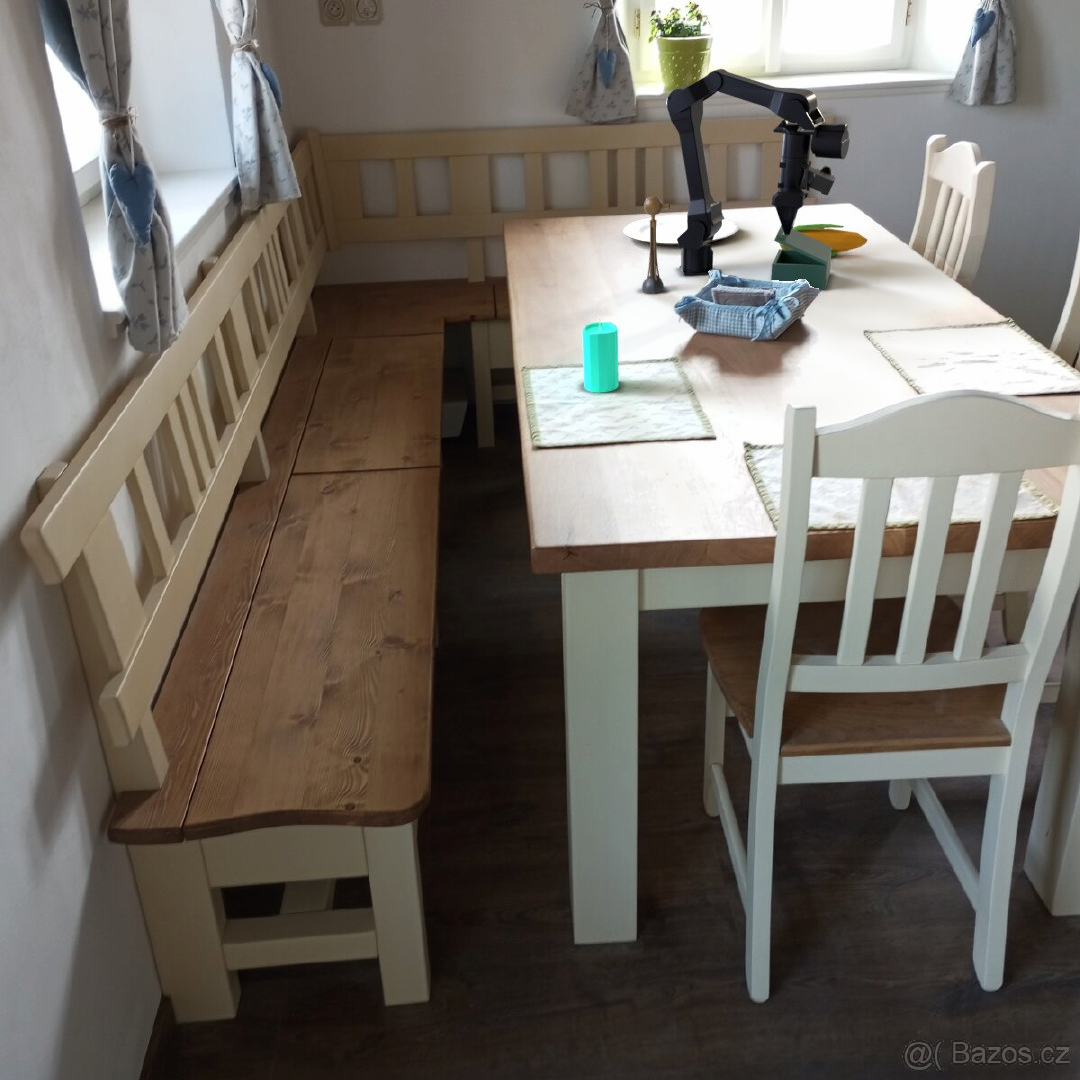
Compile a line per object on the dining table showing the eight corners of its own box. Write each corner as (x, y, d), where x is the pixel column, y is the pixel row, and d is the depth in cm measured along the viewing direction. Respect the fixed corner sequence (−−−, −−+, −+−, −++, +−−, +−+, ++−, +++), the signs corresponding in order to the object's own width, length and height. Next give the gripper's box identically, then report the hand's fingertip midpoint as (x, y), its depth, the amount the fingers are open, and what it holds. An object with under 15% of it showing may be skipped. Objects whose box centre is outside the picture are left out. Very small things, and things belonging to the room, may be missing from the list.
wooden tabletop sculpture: (670, 287, 239) (671, 194, 229) (666, 294, 235) (667, 199, 225) (644, 287, 240) (643, 194, 231) (639, 293, 237) (639, 198, 227)
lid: (773, 240, 230) (782, 223, 228) (780, 226, 240) (788, 210, 238) (826, 265, 229) (835, 248, 227) (830, 250, 240) (839, 234, 237)
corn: (779, 219, 256) (866, 217, 254) (777, 251, 260) (863, 249, 258) (781, 229, 250) (871, 227, 248) (779, 261, 254) (867, 260, 252)
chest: (770, 288, 235) (772, 264, 233) (777, 272, 245) (778, 249, 243) (825, 290, 232) (826, 265, 229) (829, 274, 242) (831, 250, 240)
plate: (756, 227, 282) (756, 219, 282) (709, 254, 261) (709, 246, 260) (655, 218, 297) (655, 211, 296) (603, 243, 275) (602, 236, 275)
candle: (597, 377, 193) (596, 311, 187) (625, 384, 190) (624, 317, 184) (577, 388, 189) (574, 321, 183) (605, 395, 186) (603, 326, 180)
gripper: (831, 165, 217) (823, 244, 224) (838, 149, 232) (830, 223, 240) (774, 163, 220) (768, 241, 227) (785, 147, 235) (779, 220, 243)
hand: (788, 231), depth 234 cm, fingers closed on lid, 5 cm apart
